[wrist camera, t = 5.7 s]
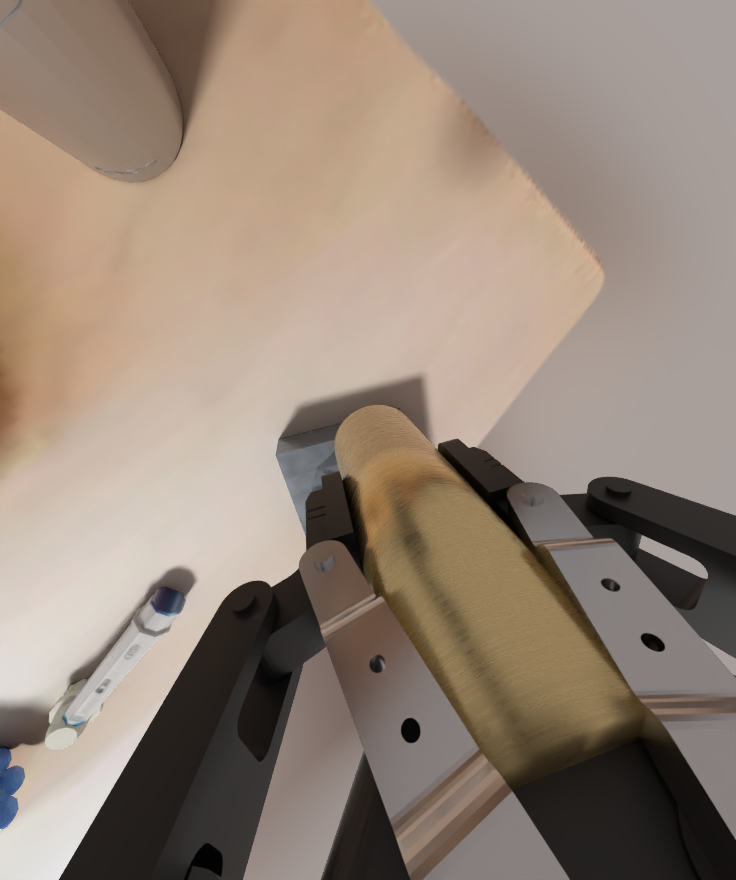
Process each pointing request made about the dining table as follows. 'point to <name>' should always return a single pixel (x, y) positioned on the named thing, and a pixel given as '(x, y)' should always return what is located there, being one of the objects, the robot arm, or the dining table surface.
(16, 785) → the blue flower
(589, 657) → the brass plug
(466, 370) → the dining table surface
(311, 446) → the plate
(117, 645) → the white electric toothbrush
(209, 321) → the dining table surface
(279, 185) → the dining table surface
